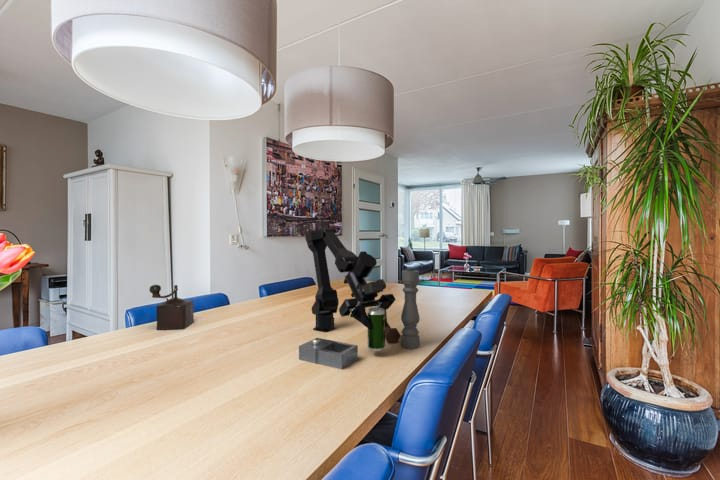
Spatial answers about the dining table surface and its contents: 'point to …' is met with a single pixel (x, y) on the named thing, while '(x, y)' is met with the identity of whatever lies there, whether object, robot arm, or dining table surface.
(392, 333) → the bolt
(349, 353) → the jig
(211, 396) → the dining table surface
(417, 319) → the turned furniture leg
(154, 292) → the manual coffee grinder
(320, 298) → the robot arm
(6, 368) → the dining table surface
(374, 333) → the beer can
